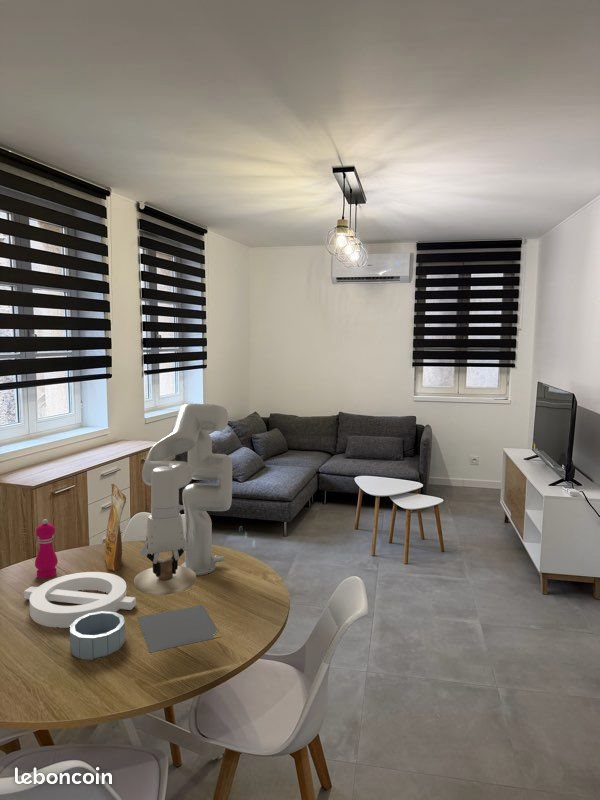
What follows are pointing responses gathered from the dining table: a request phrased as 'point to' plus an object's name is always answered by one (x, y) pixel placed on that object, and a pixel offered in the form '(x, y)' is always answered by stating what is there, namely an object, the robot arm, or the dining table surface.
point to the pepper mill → (45, 551)
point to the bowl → (97, 634)
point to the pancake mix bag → (114, 530)
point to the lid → (165, 579)
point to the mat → (177, 628)
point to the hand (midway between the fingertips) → (165, 573)
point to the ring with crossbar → (77, 597)
